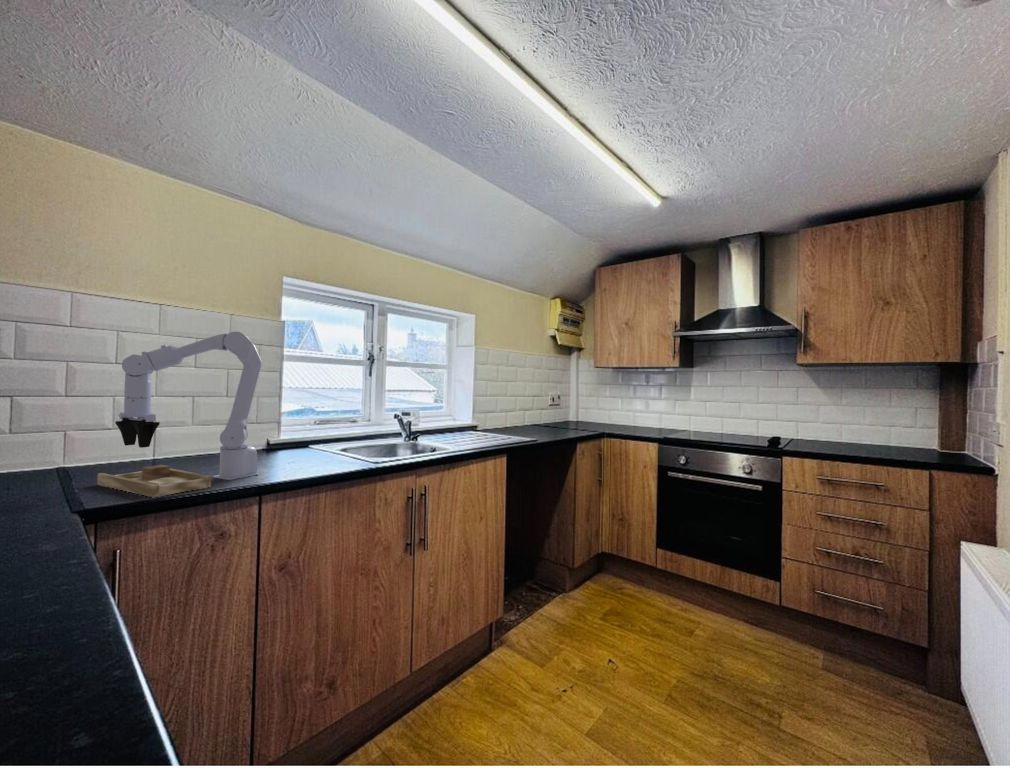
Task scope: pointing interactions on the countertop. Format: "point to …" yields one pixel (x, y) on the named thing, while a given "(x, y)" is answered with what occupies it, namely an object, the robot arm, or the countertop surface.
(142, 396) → the robot arm
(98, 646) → the countertop surface
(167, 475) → the block
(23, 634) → the countertop surface
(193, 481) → the tray
